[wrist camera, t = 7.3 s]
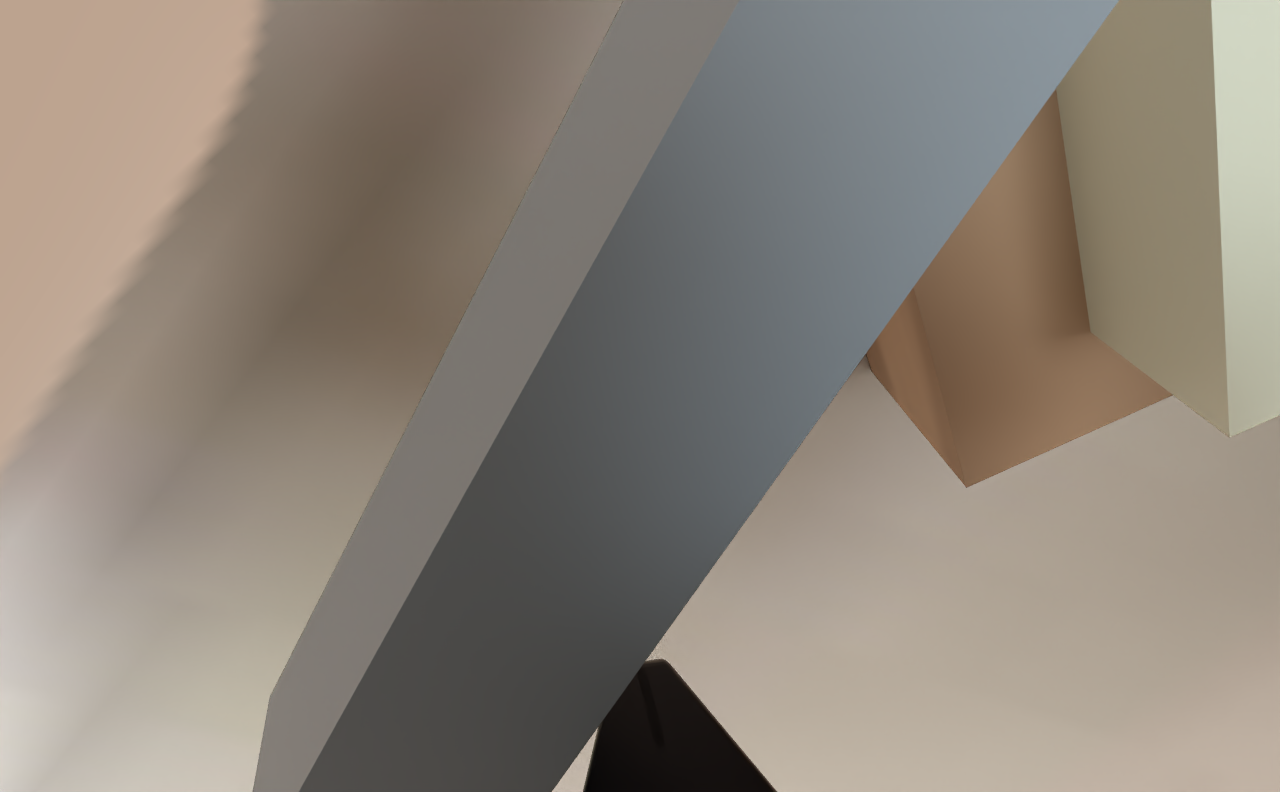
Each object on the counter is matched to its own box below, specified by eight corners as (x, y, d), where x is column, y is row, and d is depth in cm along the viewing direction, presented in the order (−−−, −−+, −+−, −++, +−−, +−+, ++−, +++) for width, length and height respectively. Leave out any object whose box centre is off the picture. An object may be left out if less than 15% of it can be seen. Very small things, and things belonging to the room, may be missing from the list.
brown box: (1351, -466, 13) (1668, -567, 10) (1330, 161, 19) (1529, 235, 15) (708, -149, 14) (799, -141, 10) (871, 372, 19) (966, 487, 16)
